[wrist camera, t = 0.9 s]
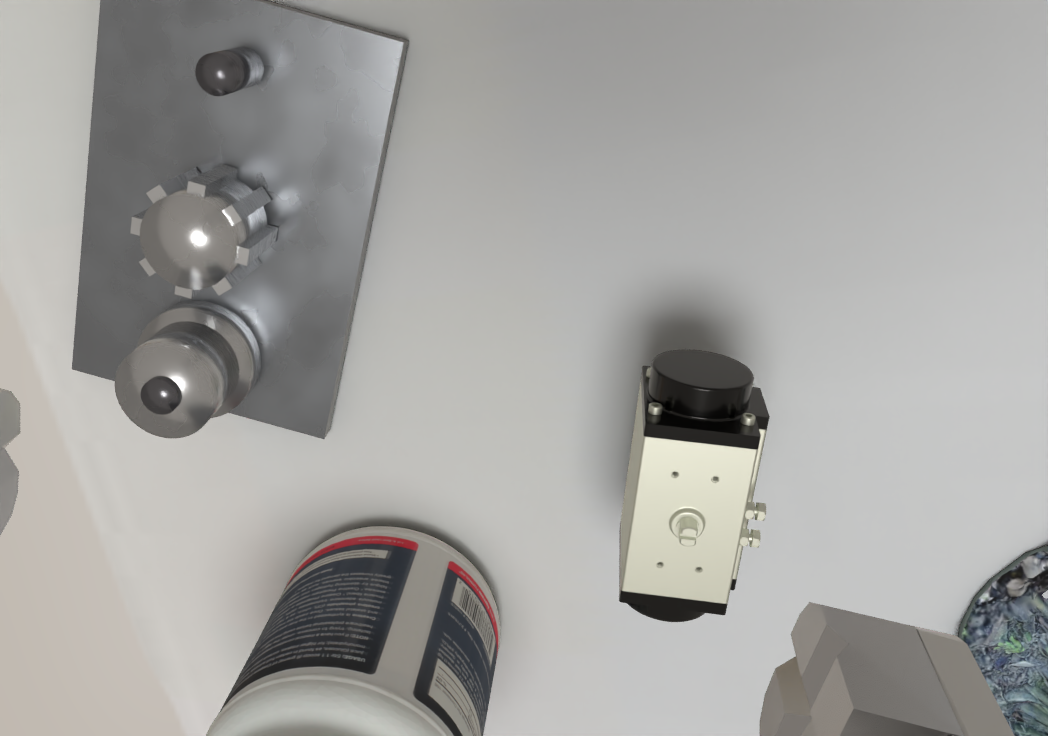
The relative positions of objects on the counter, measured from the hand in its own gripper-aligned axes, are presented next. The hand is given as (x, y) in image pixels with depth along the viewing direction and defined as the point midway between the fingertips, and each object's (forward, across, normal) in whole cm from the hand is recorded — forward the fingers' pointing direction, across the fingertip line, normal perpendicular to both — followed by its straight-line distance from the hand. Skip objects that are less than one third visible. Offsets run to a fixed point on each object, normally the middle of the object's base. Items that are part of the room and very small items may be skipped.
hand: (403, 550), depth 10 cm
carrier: (+38, +15, +10) cm, 42 cm away
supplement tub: (+39, +2, +31) cm, 50 cm away
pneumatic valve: (+39, -10, +14) cm, 42 cm away
